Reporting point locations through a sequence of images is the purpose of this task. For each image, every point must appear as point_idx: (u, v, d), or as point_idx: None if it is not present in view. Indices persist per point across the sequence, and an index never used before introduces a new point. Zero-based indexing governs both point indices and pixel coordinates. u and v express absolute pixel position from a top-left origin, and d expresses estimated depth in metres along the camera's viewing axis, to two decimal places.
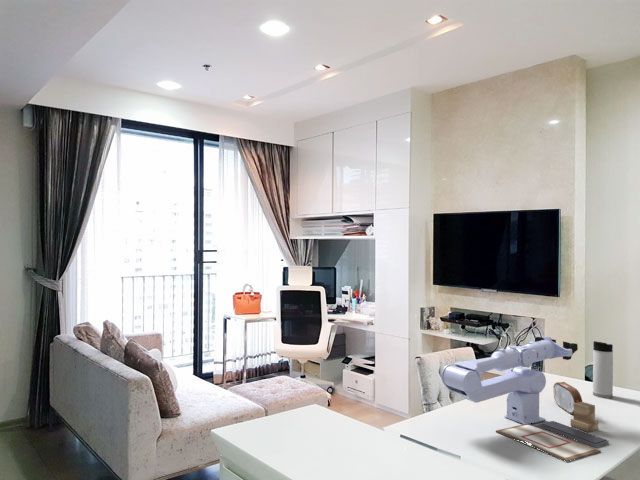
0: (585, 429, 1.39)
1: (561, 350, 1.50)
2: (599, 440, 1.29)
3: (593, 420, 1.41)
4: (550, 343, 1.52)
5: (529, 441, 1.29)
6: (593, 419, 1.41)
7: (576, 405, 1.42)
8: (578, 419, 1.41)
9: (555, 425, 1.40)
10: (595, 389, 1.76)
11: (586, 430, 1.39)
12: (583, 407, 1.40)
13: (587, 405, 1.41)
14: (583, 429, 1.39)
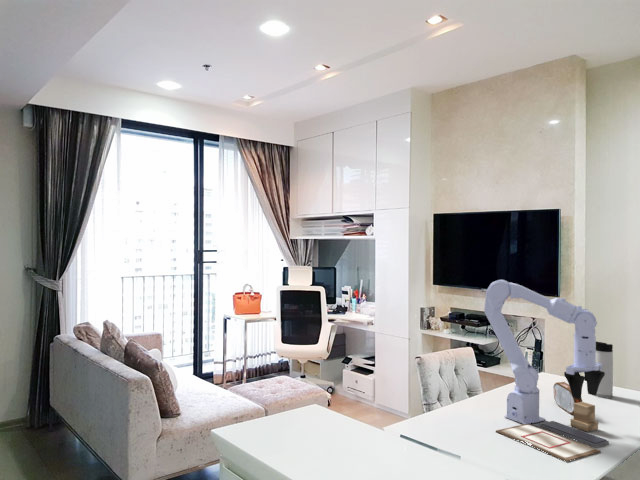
0: (585, 429, 1.39)
1: (576, 367, 1.40)
2: (599, 440, 1.29)
3: (593, 420, 1.41)
4: (588, 364, 1.40)
5: (529, 441, 1.29)
6: (593, 419, 1.41)
7: (576, 405, 1.42)
8: (578, 419, 1.41)
9: (555, 425, 1.40)
10: None
11: (586, 430, 1.39)
12: (583, 407, 1.40)
13: (587, 405, 1.41)
14: (583, 429, 1.39)
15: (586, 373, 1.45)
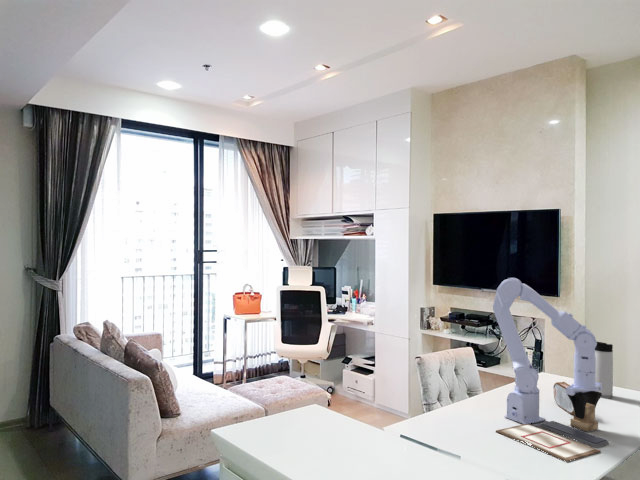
0: (585, 429, 1.39)
1: (575, 388, 1.39)
2: (599, 440, 1.29)
3: (593, 420, 1.41)
4: (588, 385, 1.39)
5: (529, 441, 1.29)
6: (593, 419, 1.41)
7: None
8: (578, 419, 1.41)
9: (555, 425, 1.40)
10: None
11: (586, 430, 1.39)
12: None
13: (587, 405, 1.41)
14: (583, 429, 1.39)
15: (583, 393, 1.45)
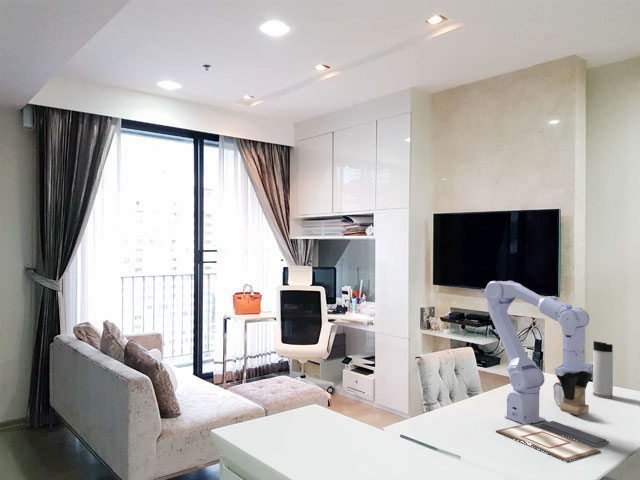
0: (575, 412, 1.33)
1: (565, 368, 1.34)
2: (599, 440, 1.29)
3: (583, 403, 1.35)
4: (577, 365, 1.34)
5: (529, 441, 1.29)
6: (583, 402, 1.35)
7: None
8: (568, 402, 1.36)
9: (555, 425, 1.40)
10: (595, 389, 1.76)
11: (576, 413, 1.33)
12: None
13: (577, 387, 1.35)
14: (573, 412, 1.34)
15: (573, 375, 1.39)
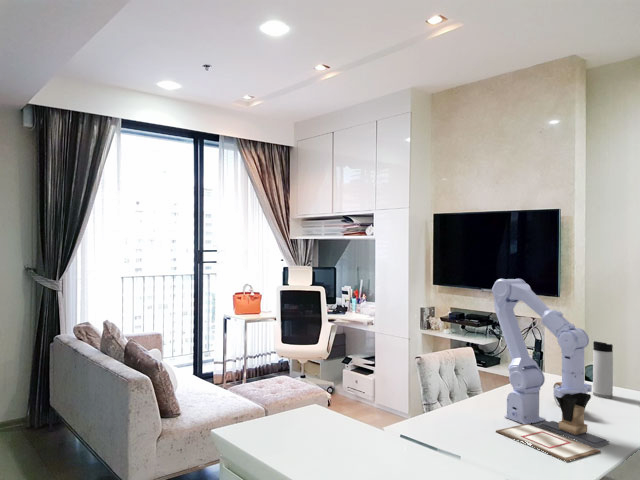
0: (574, 432, 1.33)
1: (563, 390, 1.34)
2: (599, 440, 1.29)
3: (582, 423, 1.35)
4: (576, 387, 1.34)
5: (529, 441, 1.29)
6: (582, 421, 1.35)
7: None
8: (566, 421, 1.35)
9: (555, 425, 1.40)
10: (595, 389, 1.76)
11: (575, 433, 1.33)
12: None
13: (576, 407, 1.35)
14: (572, 432, 1.33)
15: (572, 395, 1.39)
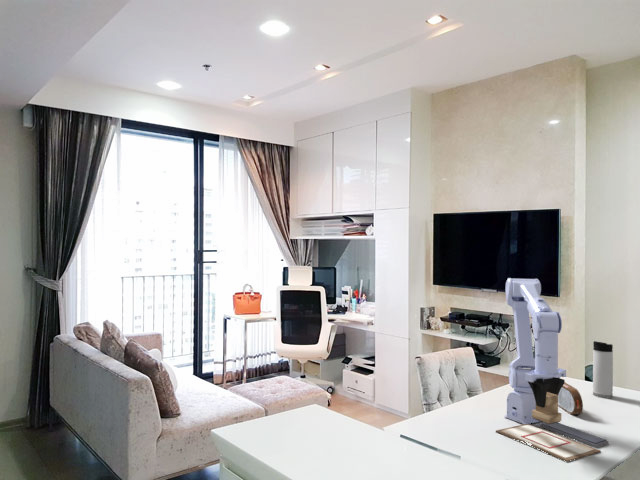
0: (547, 421, 1.28)
1: (536, 374, 1.29)
2: (599, 440, 1.29)
3: (556, 411, 1.30)
4: (549, 371, 1.28)
5: (529, 441, 1.29)
6: (556, 410, 1.30)
7: None
8: (540, 410, 1.30)
9: (555, 425, 1.40)
10: (595, 389, 1.76)
11: (548, 422, 1.27)
12: None
13: (549, 395, 1.30)
14: (545, 421, 1.28)
15: (545, 381, 1.34)
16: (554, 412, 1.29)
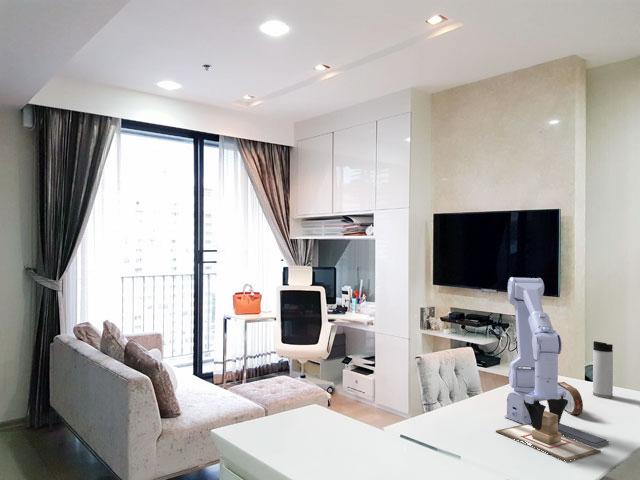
0: (547, 441, 1.27)
1: (535, 396, 1.28)
2: (599, 440, 1.29)
3: (556, 431, 1.29)
4: (549, 392, 1.28)
5: (529, 441, 1.29)
6: (556, 430, 1.29)
7: None
8: (540, 430, 1.30)
9: None
10: (595, 389, 1.76)
11: (548, 442, 1.27)
12: (545, 417, 1.29)
13: (549, 415, 1.30)
14: (545, 441, 1.28)
15: (549, 400, 1.34)
16: (554, 432, 1.29)
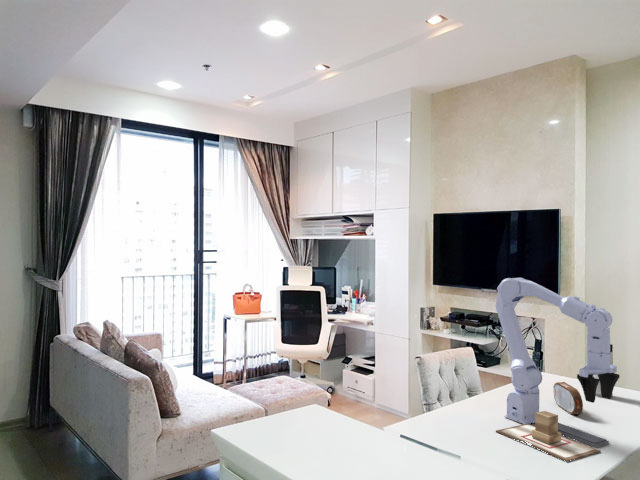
0: (547, 441, 1.27)
1: (589, 369, 1.33)
2: (599, 440, 1.29)
3: (556, 431, 1.29)
4: (602, 366, 1.33)
5: (529, 441, 1.29)
6: (556, 430, 1.29)
7: (538, 415, 1.31)
8: (540, 430, 1.30)
9: None
10: None
11: (548, 442, 1.27)
12: (545, 417, 1.29)
13: (549, 415, 1.30)
14: (545, 441, 1.28)
15: (600, 375, 1.39)
16: (554, 432, 1.29)
